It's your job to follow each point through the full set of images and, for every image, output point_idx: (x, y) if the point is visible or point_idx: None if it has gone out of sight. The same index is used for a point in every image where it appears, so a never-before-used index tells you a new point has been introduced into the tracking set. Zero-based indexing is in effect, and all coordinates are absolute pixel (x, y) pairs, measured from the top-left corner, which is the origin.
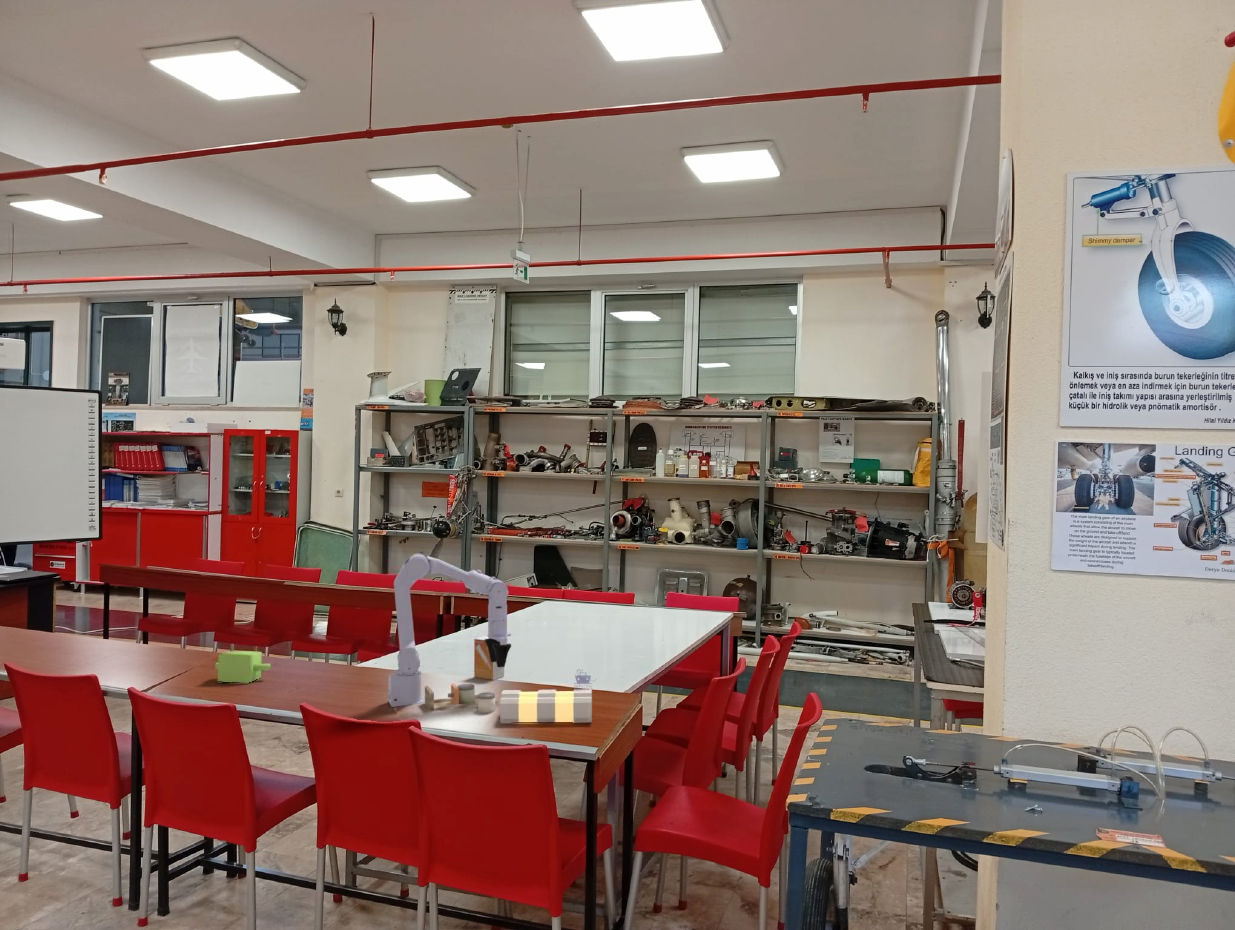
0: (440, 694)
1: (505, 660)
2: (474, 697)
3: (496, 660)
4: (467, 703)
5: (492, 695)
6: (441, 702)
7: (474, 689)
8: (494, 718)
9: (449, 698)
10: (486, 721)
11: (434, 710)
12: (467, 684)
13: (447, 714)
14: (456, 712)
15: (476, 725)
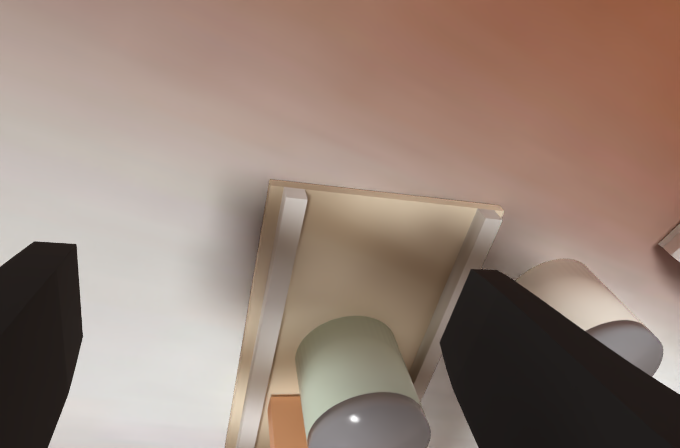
0: None
1: (571, 331)
2: (387, 345)
3: (492, 440)
4: (420, 373)
5: (653, 352)
6: (257, 441)
7: (402, 388)
8: (660, 297)
9: (255, 424)
10: (660, 335)
11: None
12: (338, 437)
13: (443, 432)
14: (443, 402)
15: (663, 375)
